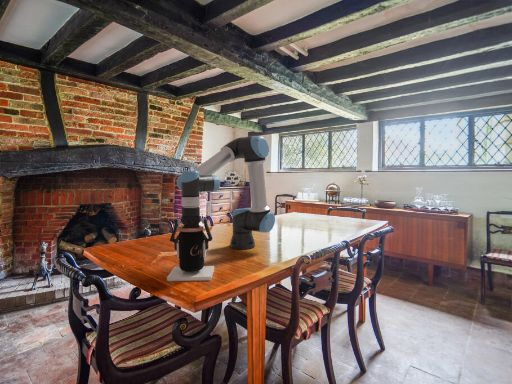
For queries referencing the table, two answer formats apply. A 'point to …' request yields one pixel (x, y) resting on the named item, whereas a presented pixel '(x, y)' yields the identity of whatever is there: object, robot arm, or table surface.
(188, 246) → the coffee jar
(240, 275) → the table surface
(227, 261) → the table surface
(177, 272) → the plate
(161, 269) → the table surface
